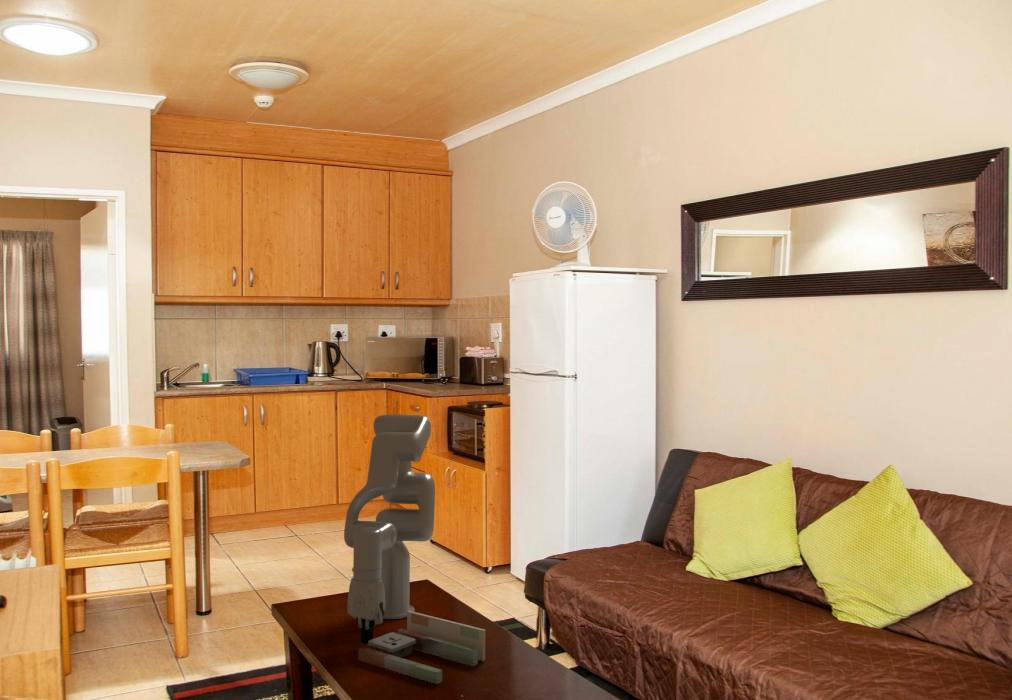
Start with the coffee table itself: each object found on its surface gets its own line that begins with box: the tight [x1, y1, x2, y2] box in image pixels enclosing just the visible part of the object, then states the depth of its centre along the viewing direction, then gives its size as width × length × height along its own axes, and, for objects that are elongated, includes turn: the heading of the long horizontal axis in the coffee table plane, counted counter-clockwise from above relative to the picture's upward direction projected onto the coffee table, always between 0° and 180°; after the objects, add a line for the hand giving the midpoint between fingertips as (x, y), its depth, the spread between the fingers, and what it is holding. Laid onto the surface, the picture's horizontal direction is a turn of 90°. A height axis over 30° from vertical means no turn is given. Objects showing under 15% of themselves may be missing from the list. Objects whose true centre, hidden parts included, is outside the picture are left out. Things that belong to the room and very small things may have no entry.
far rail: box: [396, 627, 479, 667], centre depth 228 cm, size 26×2×4 cm, turn 55°
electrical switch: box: [367, 631, 416, 658], centre depth 227 cm, size 9×5×9 cm
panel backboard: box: [406, 611, 486, 662], centre depth 231 cm, size 26×1×8 cm, turn 55°
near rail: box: [357, 646, 443, 685], centre depth 216 cm, size 26×2×3 cm, turn 55°
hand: (366, 642), depth 232 cm, fingers closed
